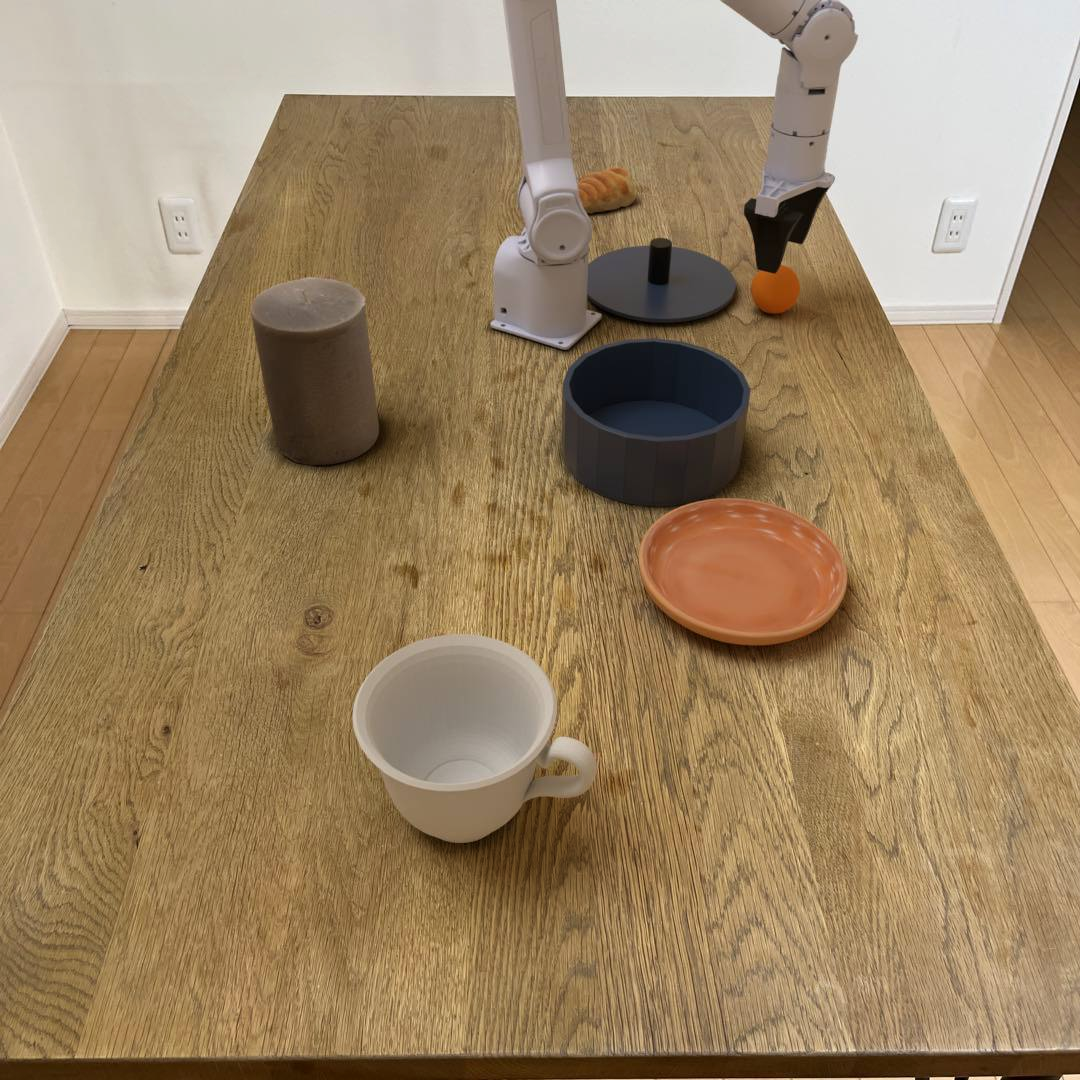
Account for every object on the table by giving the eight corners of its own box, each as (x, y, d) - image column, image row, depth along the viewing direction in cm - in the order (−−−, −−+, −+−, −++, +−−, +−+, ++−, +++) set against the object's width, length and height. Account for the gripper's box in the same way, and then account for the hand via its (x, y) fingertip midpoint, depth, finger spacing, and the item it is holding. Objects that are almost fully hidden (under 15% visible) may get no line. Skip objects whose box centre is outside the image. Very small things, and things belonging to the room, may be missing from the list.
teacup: (553, 934, 65) (556, 835, 58) (334, 848, 69) (313, 747, 63) (622, 779, 73) (631, 678, 67) (422, 712, 78) (412, 610, 71)
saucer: (838, 535, 92) (844, 507, 90) (844, 676, 80) (852, 647, 78) (646, 514, 94) (649, 486, 92) (625, 648, 82) (627, 620, 81)
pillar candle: (280, 474, 99) (251, 325, 89) (270, 414, 106) (242, 270, 96) (388, 456, 100) (372, 309, 91) (371, 399, 108) (355, 256, 98)
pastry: (585, 222, 137) (586, 192, 135) (551, 204, 141) (551, 175, 139) (641, 202, 142) (643, 173, 139) (606, 186, 146) (607, 157, 143)
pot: (529, 470, 99) (528, 404, 94) (613, 384, 110) (616, 322, 105) (695, 529, 93) (703, 462, 88) (767, 432, 103) (777, 368, 99)
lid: (553, 302, 122) (553, 255, 118) (624, 241, 133) (626, 197, 130) (695, 343, 116) (701, 295, 112) (758, 276, 127) (764, 230, 123)
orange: (740, 314, 120) (746, 270, 117) (758, 294, 124) (764, 251, 120) (785, 327, 118) (793, 282, 115) (802, 306, 122) (810, 262, 118)
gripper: (814, 160, 101) (792, 293, 110) (864, 110, 111) (840, 237, 120) (742, 145, 104) (726, 276, 113) (797, 98, 114) (778, 222, 122)
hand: (780, 255), depth 117 cm, fingers open, 7 cm apart
